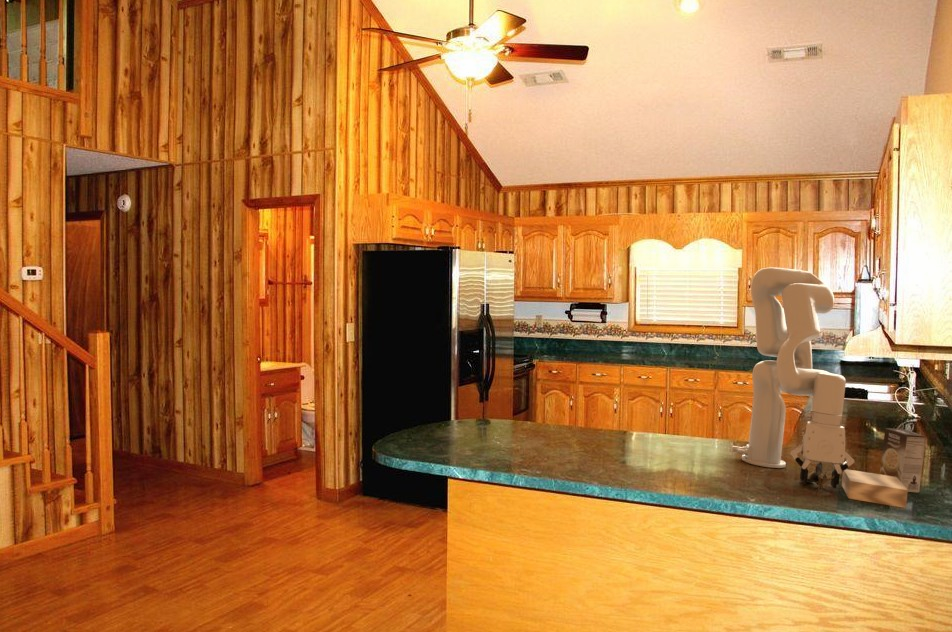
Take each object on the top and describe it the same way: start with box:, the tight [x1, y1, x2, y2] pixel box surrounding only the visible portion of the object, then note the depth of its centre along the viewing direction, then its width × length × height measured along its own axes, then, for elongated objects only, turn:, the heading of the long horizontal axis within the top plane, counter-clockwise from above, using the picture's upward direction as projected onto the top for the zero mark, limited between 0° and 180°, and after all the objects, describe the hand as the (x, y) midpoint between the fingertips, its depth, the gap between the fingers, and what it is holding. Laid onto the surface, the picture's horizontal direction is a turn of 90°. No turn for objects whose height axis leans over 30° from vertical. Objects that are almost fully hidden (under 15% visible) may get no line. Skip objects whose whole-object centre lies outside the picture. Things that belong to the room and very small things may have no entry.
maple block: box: [841, 468, 909, 509], centre depth 188 cm, size 13×15×5 cm
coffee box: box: [879, 427, 927, 493], centre depth 200 cm, size 9×6×16 cm
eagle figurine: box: [799, 462, 835, 491], centre depth 193 cm, size 8×7×9 cm
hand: (818, 484), depth 191 cm, fingers closed on eagle figurine, 6 cm apart
